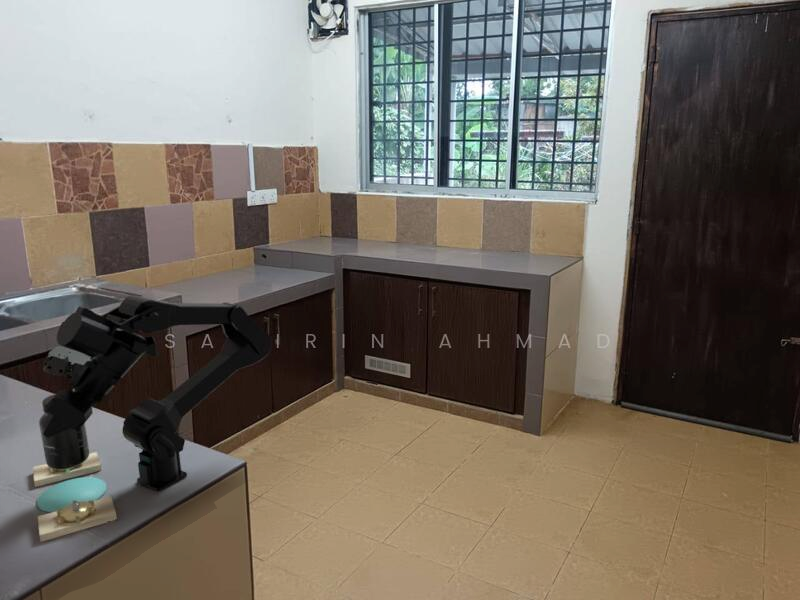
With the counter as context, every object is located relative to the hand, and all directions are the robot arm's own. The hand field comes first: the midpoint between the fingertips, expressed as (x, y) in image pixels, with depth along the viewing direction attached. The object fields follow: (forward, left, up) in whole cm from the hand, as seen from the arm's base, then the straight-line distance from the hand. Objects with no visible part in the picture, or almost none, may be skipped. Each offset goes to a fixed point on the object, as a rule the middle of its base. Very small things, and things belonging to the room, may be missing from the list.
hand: (53, 426), depth 106 cm
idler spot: (-1, +1, -13) cm, 13 cm away
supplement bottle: (-1, +1, -7) cm, 7 cm away
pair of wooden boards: (-1, +1, -13) cm, 13 cm away
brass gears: (-1, +1, -12) cm, 12 cm away
